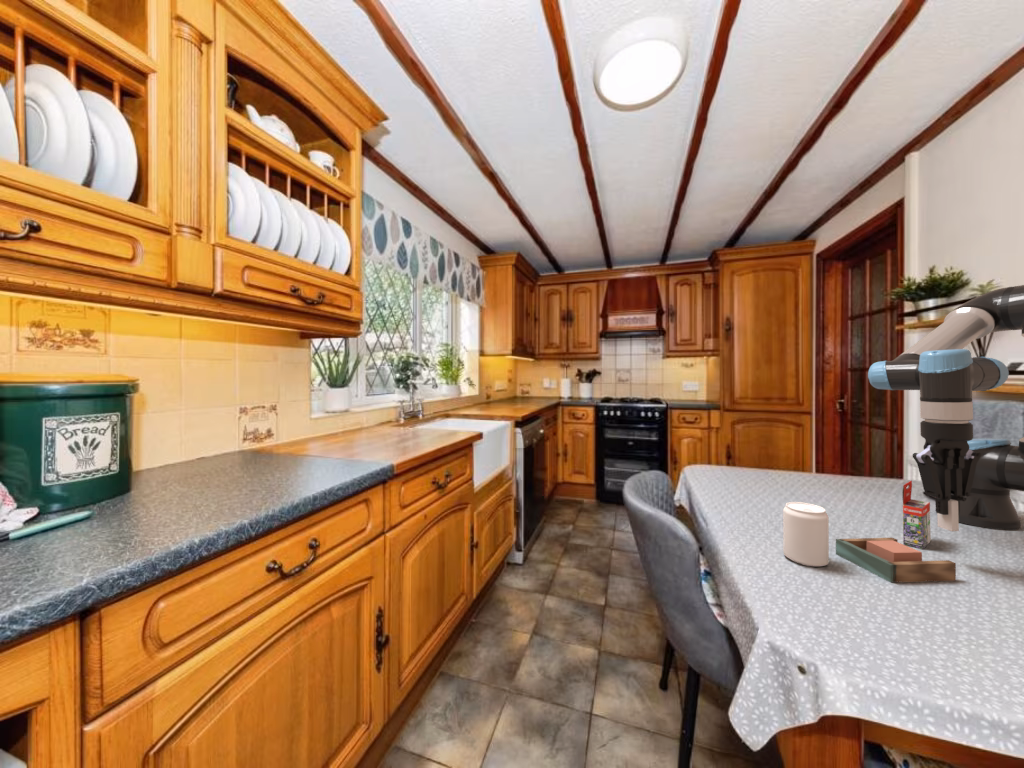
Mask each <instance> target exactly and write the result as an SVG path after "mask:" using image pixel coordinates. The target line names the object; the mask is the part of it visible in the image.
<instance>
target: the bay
mask: <svg viewBox="0 0 1024 768" xmlns="http://www.w3.org/2000/svg"><path fill="white" fill-rule="evenodd" d="M880 540H893V541H896V542H898V539H896V538H894V537H868V538H867V537H866V538H865V537H864V538H863V537H861V538H835V555H836V556H839V557H840V558H843V559H845V560H846V561H848V562H850V563H853V564H854V565H856V566H858V567H860V568H862V569H864V570H866V571H868V572H870V573H871V574H874V575H875V576H877V577H879V578H882V579H883V580H884V581H887V582H889V583H911V582H913V583H915V582H919V583H920V582H943V581H944V582H949V581H950V582H951V581H953V582H954V581H956V580H957V577H956V574H957V569H956V567H957V566H956V562H954V561H951V560H922V561H907V562H889V561H887V560H885V559H883V558H881V557H878V556H876V555H874V554H872V553H870V552H868V551H867V541H880ZM898 543H899V542H898Z"/></svg>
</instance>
